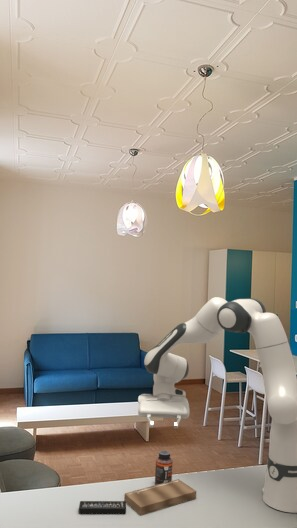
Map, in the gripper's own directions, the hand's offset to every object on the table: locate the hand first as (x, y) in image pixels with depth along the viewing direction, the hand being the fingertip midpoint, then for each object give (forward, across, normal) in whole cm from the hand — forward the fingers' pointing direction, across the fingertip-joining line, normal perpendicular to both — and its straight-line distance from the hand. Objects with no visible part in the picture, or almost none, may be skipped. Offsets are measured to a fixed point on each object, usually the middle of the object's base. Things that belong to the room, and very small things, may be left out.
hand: (163, 427), depth 173 cm
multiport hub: (+34, -20, -10) cm, 41 cm away
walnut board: (+28, -1, -5) cm, 28 cm away
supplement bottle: (+20, 0, +3) cm, 20 cm away
